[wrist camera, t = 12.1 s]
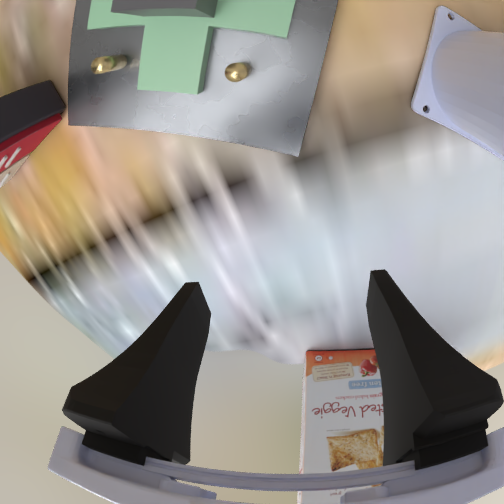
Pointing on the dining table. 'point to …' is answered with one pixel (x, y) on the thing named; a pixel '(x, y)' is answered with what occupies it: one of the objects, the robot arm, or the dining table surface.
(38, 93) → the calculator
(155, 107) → the chassis plate
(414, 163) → the dining table surface
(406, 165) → the dining table surface
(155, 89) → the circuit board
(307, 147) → the dining table surface
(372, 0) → the dining table surface
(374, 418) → the cracker box
